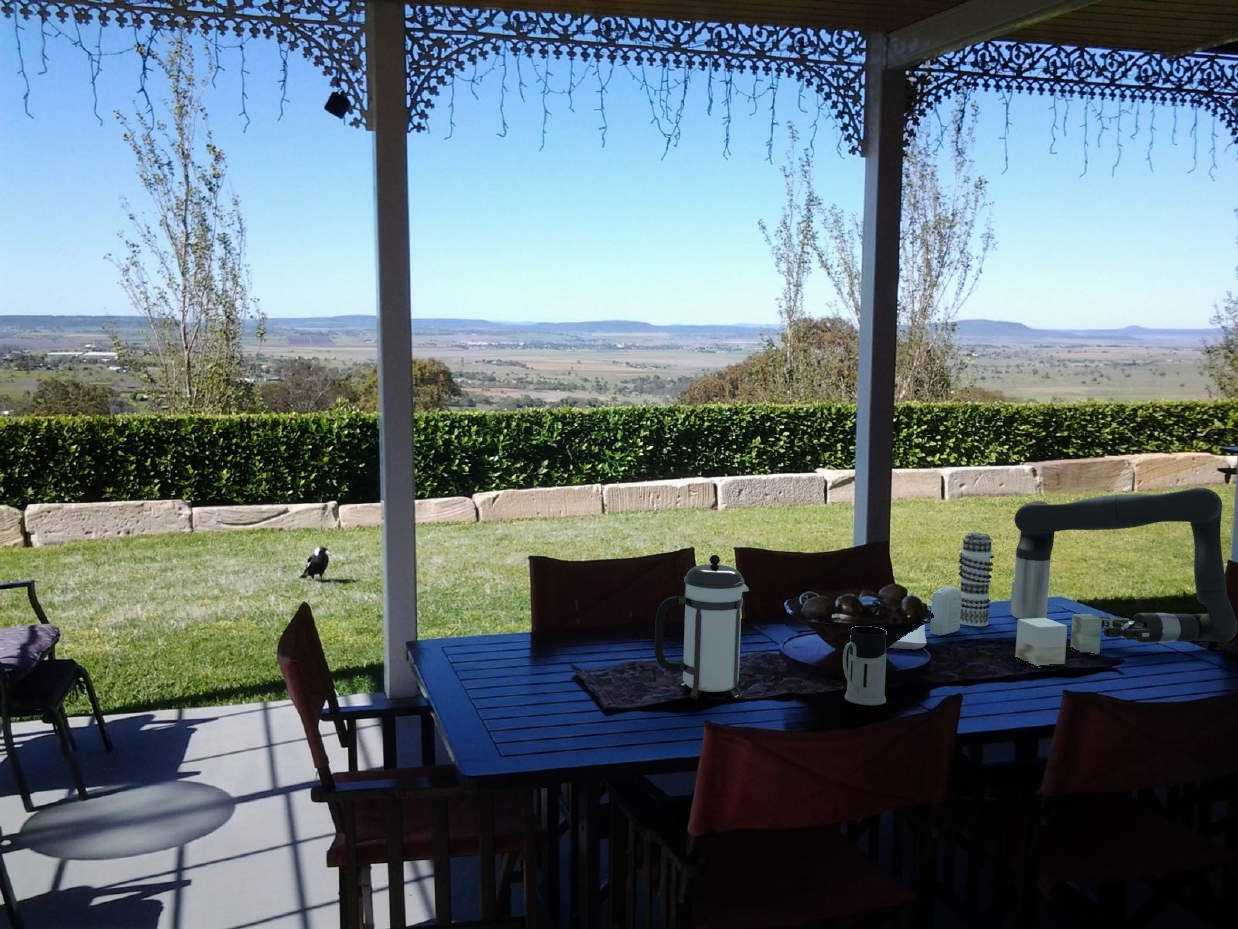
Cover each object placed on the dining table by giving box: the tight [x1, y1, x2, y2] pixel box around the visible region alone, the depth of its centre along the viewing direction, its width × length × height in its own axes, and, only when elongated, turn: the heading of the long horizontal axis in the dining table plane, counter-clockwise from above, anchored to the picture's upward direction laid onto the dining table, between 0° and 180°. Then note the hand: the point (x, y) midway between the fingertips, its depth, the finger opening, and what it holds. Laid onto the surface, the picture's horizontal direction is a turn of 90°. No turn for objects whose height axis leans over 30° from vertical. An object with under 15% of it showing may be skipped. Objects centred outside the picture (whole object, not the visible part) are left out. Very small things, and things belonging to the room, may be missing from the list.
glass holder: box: [842, 626, 887, 706], centre depth 233 cm, size 9×14×15 cm, turn 138°
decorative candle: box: [958, 532, 995, 627], centre depth 305 cm, size 9×9×25 cm
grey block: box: [1016, 618, 1068, 648], centre depth 267 cm, size 8×8×5 cm
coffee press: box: [654, 554, 750, 700], centre depth 236 cm, size 17×16×30 cm
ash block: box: [1014, 638, 1067, 666], centre depth 267 cm, size 8×8×5 cm
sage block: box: [1069, 613, 1102, 655], centre depth 278 cm, size 5×5×9 cm
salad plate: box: [890, 623, 927, 650], centre depth 284 cm, size 21×21×3 cm
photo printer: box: [929, 585, 962, 636], centre depth 294 cm, size 10×4×12 cm, turn 134°
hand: (1095, 628), depth 278 cm, fingers open, 8 cm apart
